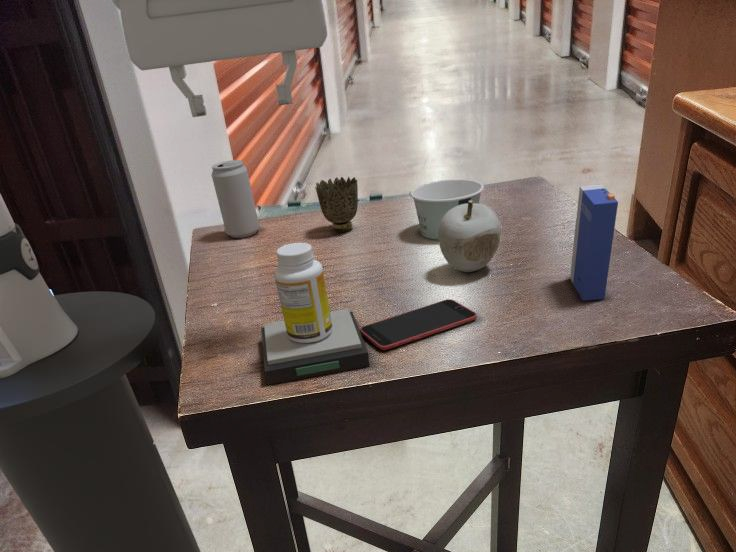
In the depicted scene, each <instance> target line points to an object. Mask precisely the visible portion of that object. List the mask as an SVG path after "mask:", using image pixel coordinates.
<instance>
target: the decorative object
mask: <svg viewBox="0 0 736 552" xmlns="http://www.w3.org/2000/svg"><path fill="white" fill-rule="evenodd" d="M501 225H502V224H501V221H500V219H499V216H498V215H497V213H496V212H495V211H494V210H493V209H492V208H491V207H489V206H487V205H485V204H482V203H479V204H477V203H473V201H472V200H469V201H468V203H467V204H461V205H458V206H456V207H454V208H452V209H451V210H449V211H448V212H447V213H446V214H445V215H444V217H443V218H442V220H441V222H440V226H439V231H438V236H439V240H438V244H439V248H440V251H441V252H440V253H441V254H442V255H443V258H444V259H445V261H446V262H447V263H448V265H449V266H451V267H452V268H453V269H455V270H457V271H460V272H462V273H473V272H476V271H479V270H481V269H482V268H484V267H486V266H487V265H488V264H489V263H490V262H491V261H492V259H493V257H495V254H496V253H497V251H498V248H499V245H500V240H501V234H502V227H501Z"/></svg>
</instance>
